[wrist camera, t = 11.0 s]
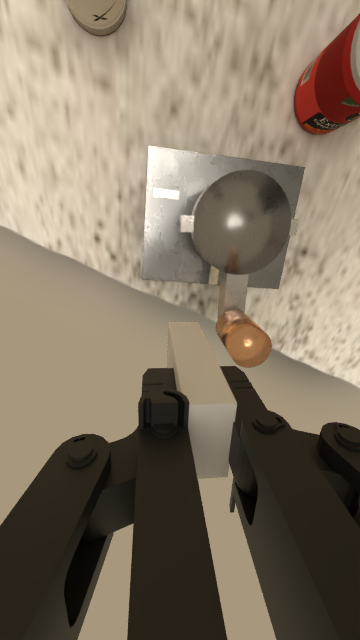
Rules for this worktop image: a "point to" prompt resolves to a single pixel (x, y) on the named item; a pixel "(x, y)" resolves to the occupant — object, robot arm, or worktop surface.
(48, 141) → the worktop surface
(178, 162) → the mount plate
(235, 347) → the dark dome with handle
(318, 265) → the worktop surface
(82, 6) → the travel mug
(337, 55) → the canned food
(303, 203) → the worktop surface
